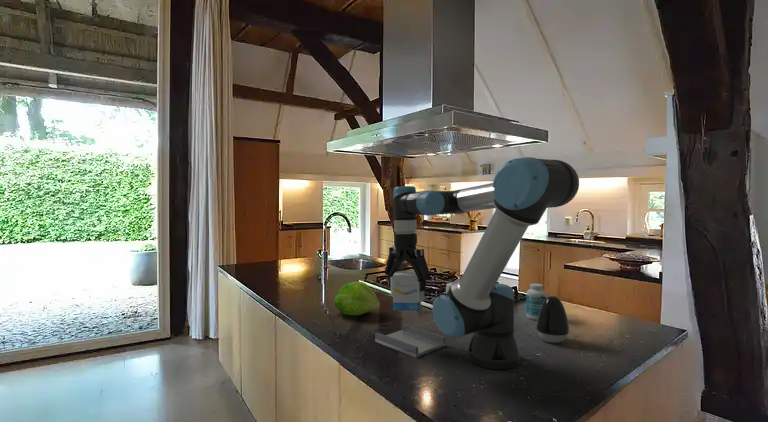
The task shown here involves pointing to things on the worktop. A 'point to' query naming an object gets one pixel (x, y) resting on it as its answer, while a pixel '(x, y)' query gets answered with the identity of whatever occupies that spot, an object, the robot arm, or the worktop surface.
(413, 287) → the ink box
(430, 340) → the rail board
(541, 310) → the black rounded dome
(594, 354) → the worktop surface
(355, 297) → the lettuce
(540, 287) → the pill bottle
